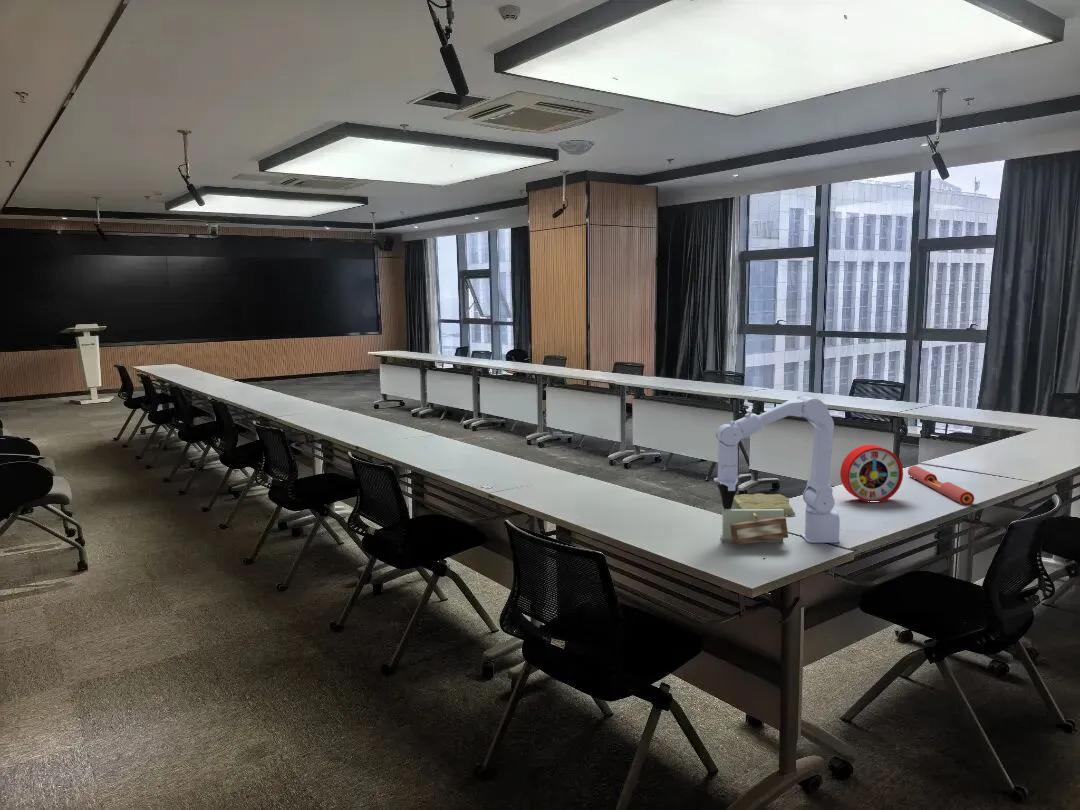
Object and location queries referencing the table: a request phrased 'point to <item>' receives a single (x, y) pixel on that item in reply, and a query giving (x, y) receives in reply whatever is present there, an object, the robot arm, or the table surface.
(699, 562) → the table surface
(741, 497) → the decorative tile
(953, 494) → the blood vessel
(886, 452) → the toy clock
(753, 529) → the picture frame
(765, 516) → the curved green slab
